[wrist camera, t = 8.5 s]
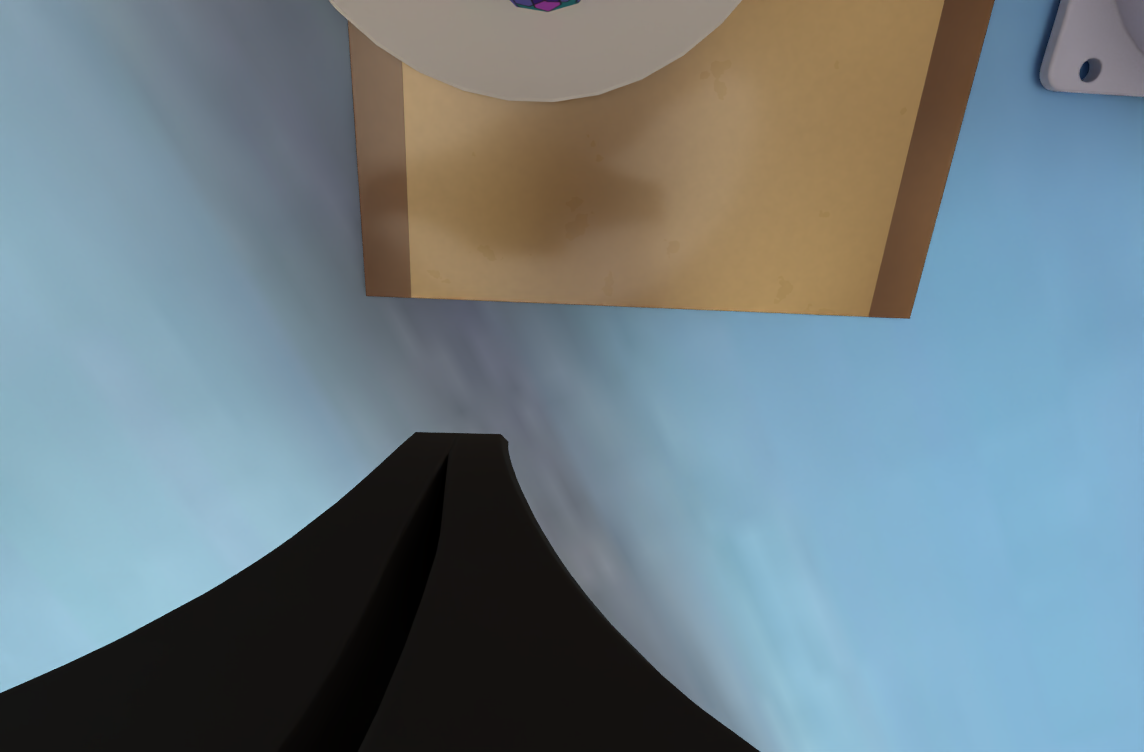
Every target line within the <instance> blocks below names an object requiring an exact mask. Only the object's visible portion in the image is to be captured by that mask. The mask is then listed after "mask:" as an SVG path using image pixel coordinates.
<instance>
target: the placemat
mask: <svg viewBox="0 0 1144 752" xmlns="http://www.w3.org/2000/svg"><path fill="white" fill-rule="evenodd" d="M994 1H995V0H742V1H741V2H740V3H739V4H738V6H737V7H736V8H735V9H734V10H733V11H732V12H731V14H730V15H729V16H728V17H727V18H726V19H725V21H724V22H723V23H722V24H721V25H720V26H718V27H717V28H716V29H715V30H714V31H712V32H711V33H710V34H709V35H708V36H706V37H705V38H704V39H703V40H702V41H700V42H699V43H698V44H697V45H696V46H694V47H693V48H692V49H691V50H690V51H688V52H687V53H686V54H685V55H684V56H682V57H680V58H678V59H677V60H675V61H673V62H672V63H670V64H668V65H666V66H665V67H663V68H661V69H659V70H658V71H656V72H654V73H652V74H651V75H649V76H647V77H645V78H644V79H642V80H639V81H636V82H634V83H631V84H628V85H625V86H622V87H620V88H617V89H614V90H611V91H608V92H606V93H603V94H600V95H595V96H589V97H583V98H576V99H570V100H564V101H557V102H537V101H508V100H503V99H499V98H494V97H490V96H485V95H481V94H476V93H472V92H467V91H463V90H460V89H458V88H456V87H453V86H451V85H448V84H446V83H444V82H441V81H439V80H437V79H434V78H432V77H429V76H427V75H425V74H422V73H420V72H418V71H416V70H415V69H413V68H412V67H410V66H408V65H407V64H405V63H404V62H402V61H401V60H399V59H397V58H396V57H394V56H393V55H391V54H390V53H388V52H386V51H385V50H383V49H382V48H380V47H379V46H377V45H376V44H375V43H373V42H372V41H371V40H370V39H369V38H368V37H367V36H366V35H364V34H363V33H362V32H361V31H360V30H359V29H358V28H357V27H355V26H354V25H353V24H352V23H351V22H350V21H349V20H348V32H349V47H350V62H351V77H352V92H353V107H354V122H355V137H356V152H357V167H358V182H359V197H360V212H361V227H362V242H363V257H364V272H365V286H366V296H380V297H404V298H430V299H454V300H478V301H502V302H526V303H550V304H574V305H598V306H623V307H647V308H671V309H695V310H719V311H743V312H767V313H791V314H815V315H839V316H863V317H885V318H910V316H911V312H912V308H913V304H914V301H915V297H916V293H917V289H918V286H919V282H920V278H921V274H922V271H923V267H924V263H925V259H926V256H927V252H928V248H929V244H930V241H931V237H932V233H933V229H934V226H935V222H936V218H937V214H938V211H939V207H940V203H941V199H942V196H943V192H944V188H945V184H946V181H947V177H948V173H949V170H950V166H951V162H952V158H953V155H954V151H955V147H956V143H957V140H958V136H959V132H960V128H961V125H962V121H963V117H964V113H965V110H966V106H967V102H968V98H969V95H970V91H971V87H972V83H973V80H974V76H975V72H976V68H977V65H978V61H979V57H980V53H981V50H982V46H983V42H984V38H985V35H986V31H987V27H988V23H989V20H990V16H991V12H992V8H993V5H994Z"/></svg>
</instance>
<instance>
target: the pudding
mask: <svg viewBox="0 0 1144 752" xmlns="http://www.w3.org/2000/svg"><path fill="white" fill-rule="evenodd" d="M329 1H330V2H331V4H332V5H333V6H334V7H335V8H336V10H338V11H339V12H340V13H341V14H342V15H343V16H344V17H345V18H347V19H348V20H349V21H350V22H351V23H352V24H353V25H354V26H355V27H357V28H358V29H359V30H360V31H361V32H362V33H363V34H364V35H366V36H367V37H368V38H369V39H370V40H371V41H372V42H373V43H375V44H376V45H377V46H379V47H380V48H382V49H383V50H385V51H386V52H388V53H390V54H391V55H393V56H394V57H396V58H397V59H399V60H401V61H402V62H404V63H405V64H407V65H408V66H410V67H412V68H413V69H415V70H416V71H418V72H420V73H422V74H425V75H427V76H429V77H432V78H434V79H437V80H439V81H441V82H444V83H446V84H448V85H451V86H453V87H456V88H458V89H460V90H463V91H467V92H472V93H476V94H481V95H485V96H490V97H494V98H499V99H503V100H508V101H537V102H557V101H564V100H570V99H576V98H583V97H589V96H595V95H600V94H603V93H606V92H608V91H611V90H614V89H617V88H620V87H622V86H625V85H628V84H631V83H634V82H636V81H639V80H642V79H644V78H645V77H647V76H649V75H651V74H652V73H654V72H656V71H658V70H659V69H661V68H663V67H665V66H666V65H668V64H670V63H672V62H673V61H675V60H677V59H678V58H680V57H682V56H684V55H685V54H686V53H687V52H688V51H690V50H691V49H692V48H693V47H694V46H696V45H697V44H698V43H699V42H700V41H702V40H703V39H704V38H705V37H706V36H708V35H709V34H710V33H711V32H712V31H714V30H715V29H716V28H717V27H718V26H720V25H721V24H722V23H723V22H724V21H725V19H726V18H727V17H728V16H729V15H730V14H731V12H732V11H733V10H734V9H735V8H736V7H737V6H738V4H739V3H740V2H741V1H742V0H329Z"/></svg>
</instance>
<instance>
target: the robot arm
mask: <svg viewBox="0 0 1144 752" xmlns="http://www.w3.org/2000/svg"><path fill="white" fill-rule="evenodd" d="M1086 61H1088V63H1089V65H1090V67H1089V72H1088V74H1087V76H1086V77H1085V78H1084V79H1083V80H1081V78H1080V76H1079V73H1080V68H1081V67H1082V65H1083V63H1084V62H1086ZM1039 77H1040V80H1041V84H1042V85H1043V86H1044V87H1045V88H1046V89H1047V90H1050V91H1055V92H1071V93H1087V94H1103V95H1119V96H1135V97H1144V0H1061V2H1060V5H1059V8H1058V12H1057V15H1056V18H1055V22H1054V25H1053V28H1052V32H1051V35H1050V38H1049V41H1048V45H1047V48H1046V51H1045V55H1044V58H1043V61H1042V65H1041V68H1040V76H1039ZM0 752H760V751H758V750H757V749H756V748H754V747H753V746H752V745H750V744H749V743H748V742H746V741H745V740H743V739H742V738H741V737H739V736H738V735H737V734H735V733H734V732H733V731H731V730H730V729H728V728H727V727H726V726H724V725H723V724H722V723H720V722H719V721H717V720H716V719H715V718H713V717H712V716H711V715H709V714H708V713H707V712H705V711H704V710H702V709H701V708H700V707H699V706H697V705H696V704H695V703H694V702H692V701H691V700H690V699H689V698H688V697H687V696H685V695H684V694H683V693H682V692H681V691H680V690H678V689H677V688H676V687H675V686H674V685H673V684H671V683H670V682H669V681H668V680H667V679H666V678H664V677H663V676H662V675H661V674H660V673H659V672H658V671H657V670H656V669H655V668H654V667H653V666H652V665H651V664H650V663H649V662H648V661H647V660H646V659H645V658H644V657H643V656H642V655H641V654H640V653H639V652H638V651H637V650H636V649H635V648H634V647H633V646H632V645H631V644H630V643H629V642H628V641H627V640H626V639H625V638H624V637H623V636H622V635H621V634H620V633H619V632H618V631H617V630H616V629H615V628H614V627H613V626H612V625H611V623H610V622H609V621H608V620H607V619H606V618H605V616H604V615H603V614H602V613H601V612H600V611H599V609H598V608H597V607H596V606H595V605H594V604H593V602H592V601H591V600H590V599H589V598H588V596H587V595H586V594H585V593H584V591H583V590H582V589H581V587H580V586H579V585H578V583H577V582H576V581H575V580H574V578H573V577H572V576H571V574H570V573H569V571H568V570H567V569H566V567H565V566H564V564H563V563H562V561H561V560H560V558H559V557H558V555H557V554H556V552H555V551H554V549H553V547H552V546H551V544H550V543H549V541H548V539H547V538H546V536H545V534H544V533H543V531H542V529H541V528H540V526H539V524H538V522H537V520H536V519H535V517H534V515H533V513H532V511H531V509H530V507H529V505H528V503H527V500H526V498H525V496H524V494H523V492H522V490H521V488H520V485H519V483H518V481H517V478H516V475H515V472H514V470H513V467H512V464H511V460H510V456H509V451H508V441H507V440H506V439H505V438H504V437H503V436H502V435H501V434H470V433H428V432H415V433H414V434H413V435H412V436H411V437H410V438H408V439H407V440H406V441H405V442H404V443H403V444H402V445H400V446H399V447H398V448H397V449H396V450H395V451H394V452H393V453H392V454H391V455H390V456H389V457H387V458H386V459H385V460H384V461H383V462H382V463H381V464H380V465H379V466H378V467H377V468H375V469H374V470H373V471H372V472H371V473H370V474H369V475H368V476H367V477H366V478H364V479H363V480H362V481H361V482H360V483H359V484H358V485H356V486H355V487H354V488H353V489H352V490H351V491H349V492H348V493H347V494H346V495H345V496H344V497H343V498H341V499H340V500H339V501H338V502H337V503H335V504H334V505H333V506H332V507H330V508H329V509H328V510H326V511H325V512H324V513H323V514H321V515H320V516H319V517H317V518H316V519H315V520H313V521H312V522H311V523H310V524H308V525H307V526H306V527H304V528H303V529H302V530H301V531H299V532H298V533H297V534H295V535H294V536H293V537H292V538H290V539H289V540H287V541H286V542H284V543H283V544H282V545H280V546H279V547H277V548H276V549H274V550H273V551H272V552H270V553H269V554H267V555H266V556H264V557H263V558H261V559H260V560H258V561H257V562H255V563H253V564H252V565H250V566H249V567H247V568H245V569H244V570H242V571H241V572H239V573H238V574H236V575H234V576H233V577H231V578H230V579H228V580H226V581H225V582H223V583H222V584H220V585H218V586H217V587H215V588H213V589H211V590H210V591H208V592H206V593H205V594H203V595H201V596H199V597H197V598H195V599H193V600H192V601H190V602H188V603H186V604H184V605H182V606H180V607H179V608H177V609H175V610H173V611H171V612H169V613H167V614H165V615H164V616H162V617H160V618H158V619H156V620H154V621H152V622H151V623H149V624H147V625H145V626H143V627H141V628H139V629H138V630H136V631H134V632H132V633H130V634H128V635H126V636H124V637H122V638H120V639H118V640H116V641H114V642H112V643H110V644H108V645H106V646H104V647H102V648H100V649H97V650H95V651H93V652H91V653H89V654H87V655H85V656H83V657H80V658H78V659H76V660H74V661H72V662H70V663H68V664H66V665H64V666H61V667H59V668H57V669H54V670H52V671H50V672H48V673H45V674H43V675H41V676H38V677H36V678H34V679H32V680H29V681H27V682H25V683H23V684H20V685H18V686H16V687H13V688H11V689H9V690H7V691H4V692H2V693H0Z"/></svg>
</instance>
